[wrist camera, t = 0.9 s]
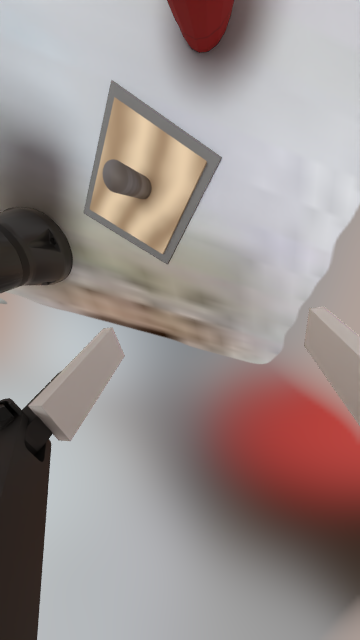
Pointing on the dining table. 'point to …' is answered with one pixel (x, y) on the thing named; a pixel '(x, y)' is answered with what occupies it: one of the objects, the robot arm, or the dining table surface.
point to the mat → (177, 134)
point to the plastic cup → (202, 21)
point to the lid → (144, 178)
